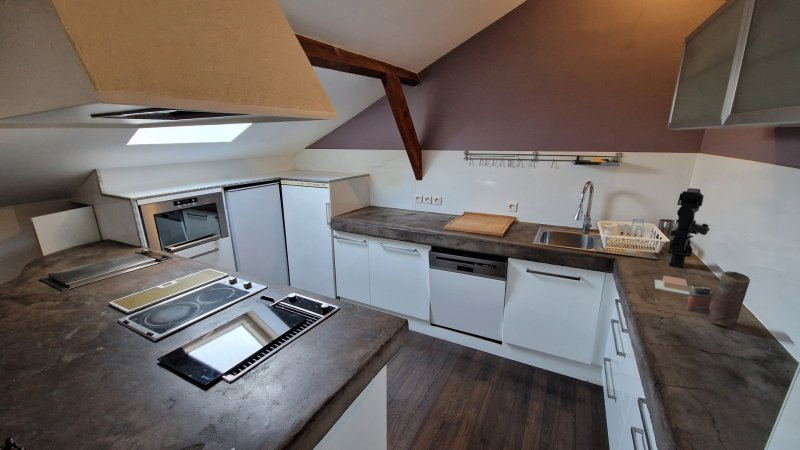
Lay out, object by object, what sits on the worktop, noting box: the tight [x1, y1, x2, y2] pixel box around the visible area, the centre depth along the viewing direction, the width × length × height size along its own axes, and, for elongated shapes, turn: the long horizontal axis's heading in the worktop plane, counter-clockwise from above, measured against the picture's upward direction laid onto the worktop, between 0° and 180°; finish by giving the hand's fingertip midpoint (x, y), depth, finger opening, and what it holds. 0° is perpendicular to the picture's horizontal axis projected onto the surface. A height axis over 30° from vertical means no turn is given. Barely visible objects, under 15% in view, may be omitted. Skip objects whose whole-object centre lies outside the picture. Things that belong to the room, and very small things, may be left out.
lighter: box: [685, 286, 714, 313], centre depth 130 cm, size 8×3×10 cm, turn 84°
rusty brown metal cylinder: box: [707, 270, 751, 328], centre depth 119 cm, size 8×7×20 cm
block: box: [662, 275, 689, 291], centre depth 150 cm, size 2×8×8 cm
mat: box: [654, 279, 694, 296], centre depth 149 cm, size 10×14×1 cm
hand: (682, 249), depth 158 cm, fingers closed
